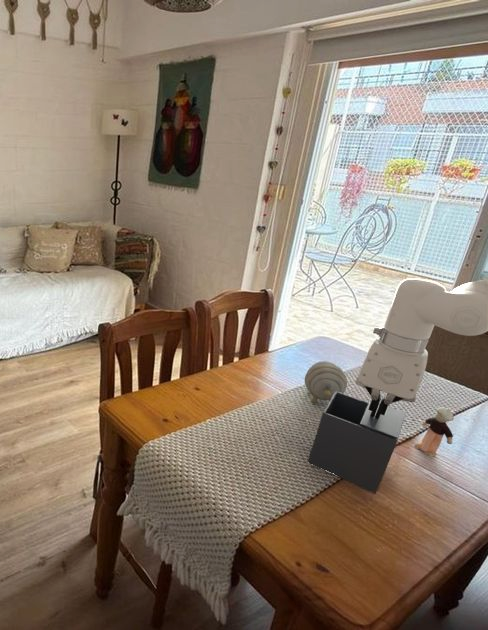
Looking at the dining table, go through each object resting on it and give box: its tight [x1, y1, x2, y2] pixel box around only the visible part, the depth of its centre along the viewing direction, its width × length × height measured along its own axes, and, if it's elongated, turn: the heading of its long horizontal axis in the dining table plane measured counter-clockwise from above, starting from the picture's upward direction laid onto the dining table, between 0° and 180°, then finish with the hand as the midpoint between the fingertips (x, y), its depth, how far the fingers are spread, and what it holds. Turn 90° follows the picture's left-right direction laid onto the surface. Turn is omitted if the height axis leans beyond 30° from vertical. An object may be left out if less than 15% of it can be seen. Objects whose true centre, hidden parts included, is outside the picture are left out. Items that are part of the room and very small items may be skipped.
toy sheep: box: [304, 360, 348, 405], centre depth 125 cm, size 11×17×11 cm, turn 160°
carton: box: [307, 391, 404, 495], centre depth 100 cm, size 14×12×14 cm
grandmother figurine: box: [414, 406, 455, 458], centre depth 105 cm, size 8×4×13 cm, turn 17°
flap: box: [360, 399, 406, 440], centre depth 95 cm, size 7×12×1 cm, turn 139°
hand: (375, 414), depth 96 cm, fingers closed
